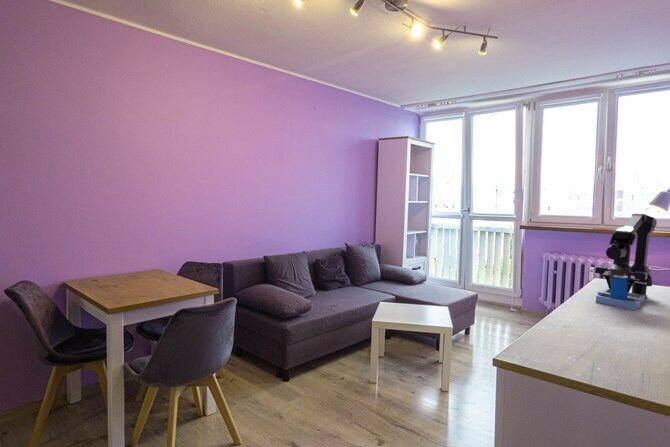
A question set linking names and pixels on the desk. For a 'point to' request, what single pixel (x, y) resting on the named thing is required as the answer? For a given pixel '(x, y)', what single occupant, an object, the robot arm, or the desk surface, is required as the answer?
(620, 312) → the desk surface
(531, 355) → the desk surface
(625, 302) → the slot holder
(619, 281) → the beverage can
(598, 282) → the desk surface
